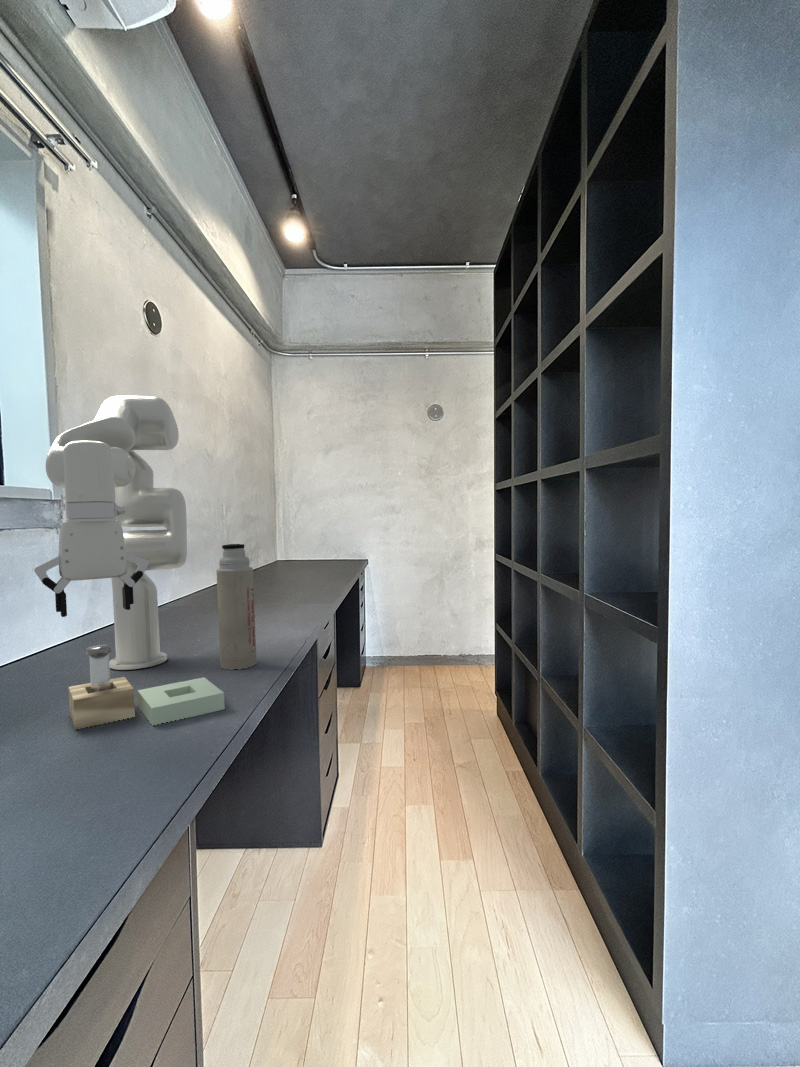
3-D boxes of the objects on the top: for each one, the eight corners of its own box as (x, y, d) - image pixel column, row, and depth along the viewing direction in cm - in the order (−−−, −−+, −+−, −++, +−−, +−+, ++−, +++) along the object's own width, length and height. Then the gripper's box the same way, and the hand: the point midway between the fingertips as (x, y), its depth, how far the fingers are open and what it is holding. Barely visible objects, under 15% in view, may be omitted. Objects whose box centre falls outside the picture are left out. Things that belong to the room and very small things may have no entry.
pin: (88, 715, 97) (85, 647, 97) (112, 710, 99) (109, 643, 99) (91, 721, 94) (87, 651, 93) (116, 716, 96) (112, 647, 96)
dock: (138, 706, 101) (137, 690, 101) (204, 692, 108) (204, 677, 108) (152, 726, 91) (151, 708, 91) (224, 709, 98) (223, 692, 98)
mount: (70, 714, 98) (68, 686, 97) (125, 703, 103) (124, 676, 103) (75, 730, 90) (73, 700, 90) (135, 717, 96) (133, 688, 95)
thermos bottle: (262, 660, 130) (257, 542, 129) (246, 670, 122) (241, 545, 121) (231, 659, 132) (226, 543, 131) (213, 669, 124) (208, 545, 123)
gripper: (141, 513, 103) (145, 604, 103) (30, 515, 93) (35, 616, 93) (150, 512, 97) (154, 608, 97) (32, 514, 87) (37, 621, 87)
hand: (96, 612), depth 95 cm, fingers open, 9 cm apart
